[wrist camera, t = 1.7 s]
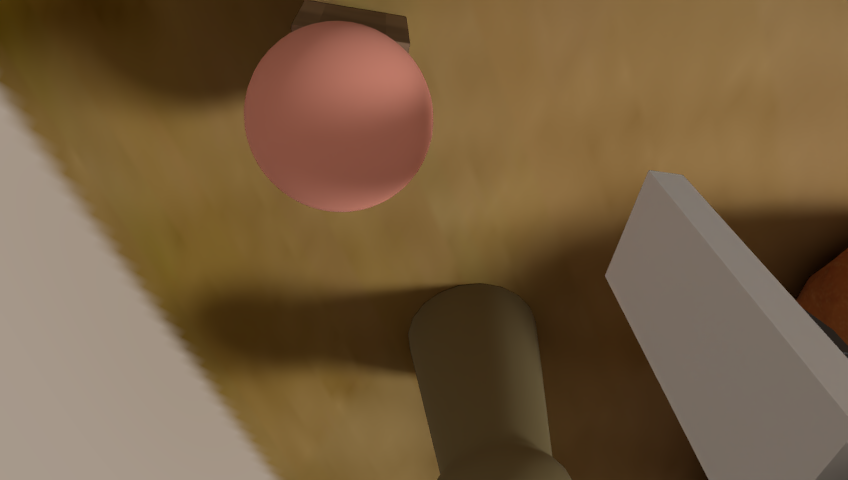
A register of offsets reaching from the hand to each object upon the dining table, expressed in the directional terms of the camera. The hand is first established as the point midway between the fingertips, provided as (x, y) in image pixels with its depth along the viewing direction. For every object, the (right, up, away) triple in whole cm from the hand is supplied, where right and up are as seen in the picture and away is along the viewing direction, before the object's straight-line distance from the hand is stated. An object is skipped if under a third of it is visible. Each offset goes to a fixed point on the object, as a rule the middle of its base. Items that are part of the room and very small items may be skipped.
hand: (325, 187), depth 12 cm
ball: (0, +2, +4) cm, 5 cm away
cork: (+4, -5, +16) cm, 18 cm away
